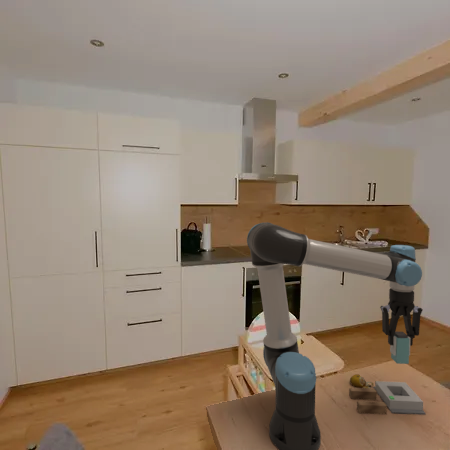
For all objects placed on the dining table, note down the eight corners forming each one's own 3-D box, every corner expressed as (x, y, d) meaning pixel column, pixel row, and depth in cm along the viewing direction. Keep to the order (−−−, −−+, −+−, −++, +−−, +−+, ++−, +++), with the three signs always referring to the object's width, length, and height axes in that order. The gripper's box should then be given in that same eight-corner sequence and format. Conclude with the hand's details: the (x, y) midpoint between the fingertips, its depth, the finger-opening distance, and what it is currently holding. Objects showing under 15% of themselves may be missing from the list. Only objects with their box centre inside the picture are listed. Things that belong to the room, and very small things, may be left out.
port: (391, 413, 98) (392, 402, 98) (373, 387, 112) (373, 377, 112) (425, 414, 97) (426, 403, 97) (402, 388, 111) (403, 378, 111)
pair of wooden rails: (359, 413, 98) (359, 404, 98) (349, 395, 107) (349, 387, 107) (386, 414, 98) (386, 405, 97) (374, 396, 107) (374, 388, 107)
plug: (396, 363, 102) (397, 335, 101) (391, 357, 106) (391, 330, 105) (408, 363, 102) (409, 336, 101) (402, 357, 106) (403, 331, 105)
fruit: (372, 395, 108) (373, 385, 108) (348, 388, 112) (348, 379, 112) (373, 383, 115) (373, 374, 115) (350, 377, 119) (351, 369, 119)
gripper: (381, 292, 99) (380, 358, 100) (433, 292, 98) (431, 359, 99) (372, 286, 107) (370, 348, 108) (420, 286, 105) (418, 349, 107)
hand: (399, 353), depth 104 cm, fingers closed on plug, 4 cm apart
